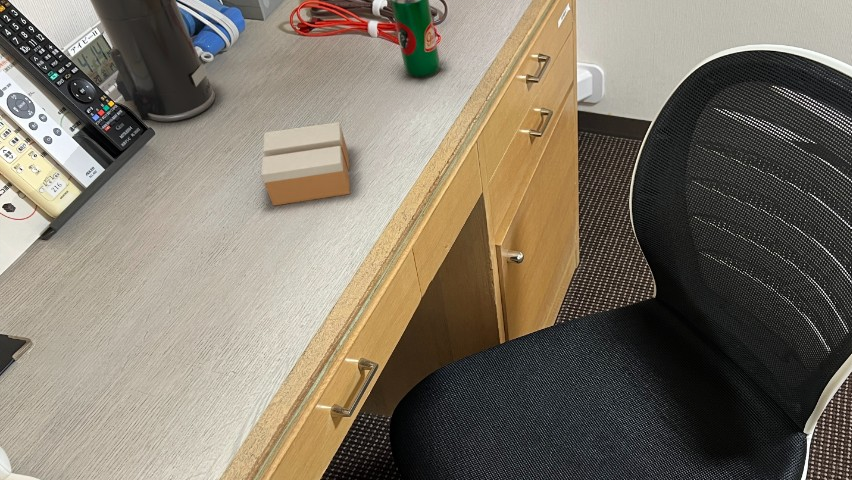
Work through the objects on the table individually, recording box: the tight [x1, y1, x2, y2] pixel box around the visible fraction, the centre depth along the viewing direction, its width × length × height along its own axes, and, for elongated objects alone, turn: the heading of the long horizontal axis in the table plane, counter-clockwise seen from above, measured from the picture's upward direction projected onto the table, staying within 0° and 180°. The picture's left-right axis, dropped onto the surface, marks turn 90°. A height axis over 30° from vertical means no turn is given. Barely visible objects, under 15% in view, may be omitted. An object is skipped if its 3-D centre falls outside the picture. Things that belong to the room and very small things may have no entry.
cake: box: [262, 121, 350, 171], centre depth 101 cm, size 9×4×4 cm, turn 103°
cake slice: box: [260, 146, 351, 207], centre depth 98 cm, size 9×4×4 cm, turn 103°
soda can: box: [389, 0, 441, 79], centre depth 114 cm, size 5×5×12 cm
